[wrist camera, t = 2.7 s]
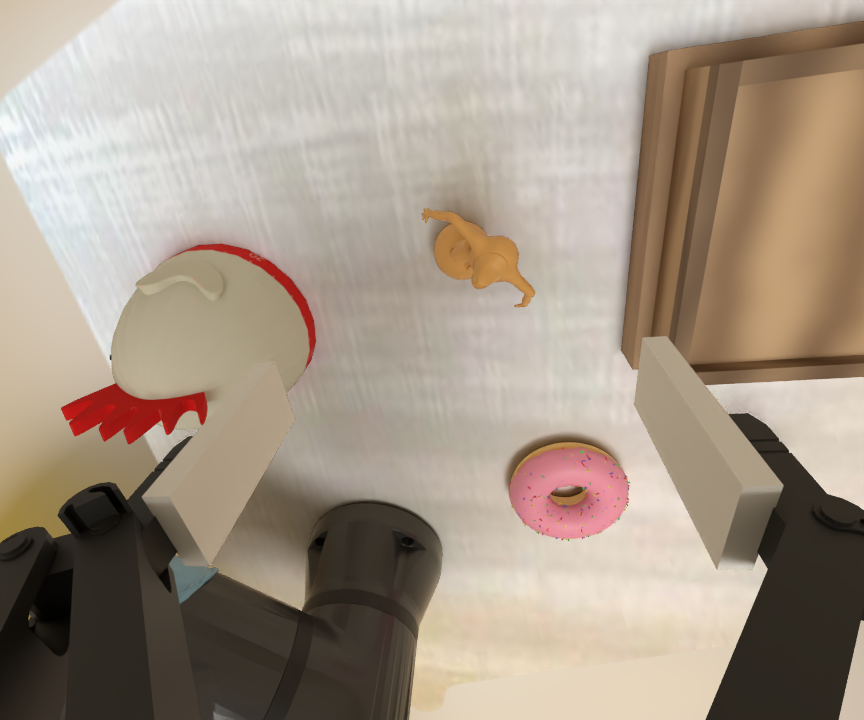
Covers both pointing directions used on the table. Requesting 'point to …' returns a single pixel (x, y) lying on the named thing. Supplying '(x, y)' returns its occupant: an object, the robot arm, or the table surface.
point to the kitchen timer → (197, 341)
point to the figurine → (476, 255)
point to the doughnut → (561, 469)
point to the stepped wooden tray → (753, 208)
